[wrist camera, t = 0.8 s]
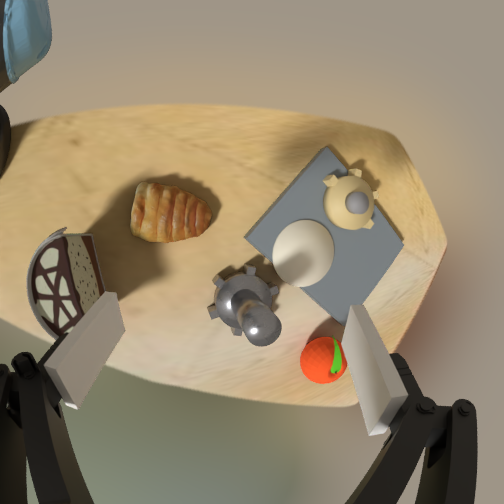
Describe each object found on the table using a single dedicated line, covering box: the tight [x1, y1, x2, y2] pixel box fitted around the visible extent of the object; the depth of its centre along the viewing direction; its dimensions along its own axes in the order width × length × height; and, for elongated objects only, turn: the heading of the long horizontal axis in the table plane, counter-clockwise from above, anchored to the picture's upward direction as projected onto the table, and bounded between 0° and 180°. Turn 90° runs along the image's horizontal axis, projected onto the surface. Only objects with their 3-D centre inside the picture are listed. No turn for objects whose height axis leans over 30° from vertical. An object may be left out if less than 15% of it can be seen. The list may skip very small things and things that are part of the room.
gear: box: [207, 264, 282, 346], centre depth 32 cm, size 9×8×10 cm
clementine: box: [300, 335, 347, 384], centre depth 37 cm, size 8×7×7 cm
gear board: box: [244, 147, 404, 326], centre depth 36 cm, size 20×18×5 cm
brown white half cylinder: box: [27, 227, 106, 340], centre depth 26 cm, size 12×6×10 cm, turn 8°
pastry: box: [130, 182, 212, 243], centre depth 31 cm, size 9×7×4 cm
